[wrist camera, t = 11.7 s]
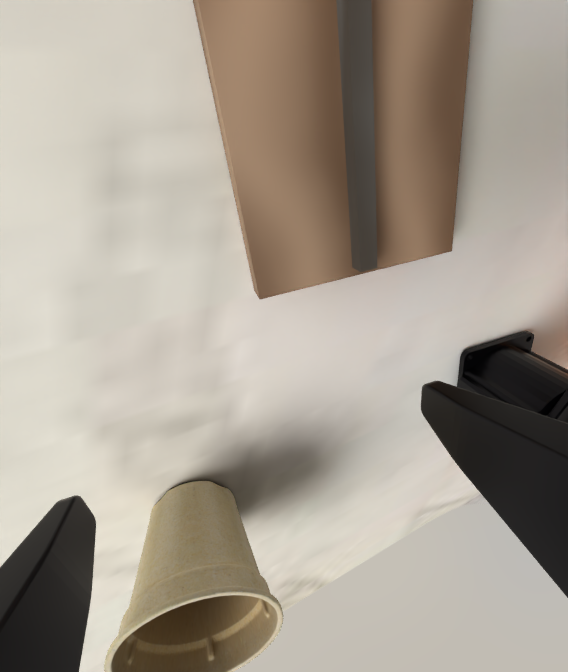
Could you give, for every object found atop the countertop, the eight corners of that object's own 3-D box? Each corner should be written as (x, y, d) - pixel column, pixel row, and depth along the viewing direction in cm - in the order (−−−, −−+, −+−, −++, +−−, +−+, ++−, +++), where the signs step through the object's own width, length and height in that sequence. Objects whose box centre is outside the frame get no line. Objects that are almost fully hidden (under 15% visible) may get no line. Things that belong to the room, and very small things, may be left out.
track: (476, -423, 11) (706, -891, 6) (435, 246, 21) (508, 267, 16) (92, -476, 9) (-14, -1236, 4) (254, 290, 19) (278, 329, 14)
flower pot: (274, 508, 28) (308, 630, 21) (176, 565, 28) (174, 709, 20) (217, 441, 23) (234, 567, 16) (98, 508, 23) (59, 669, 16)
